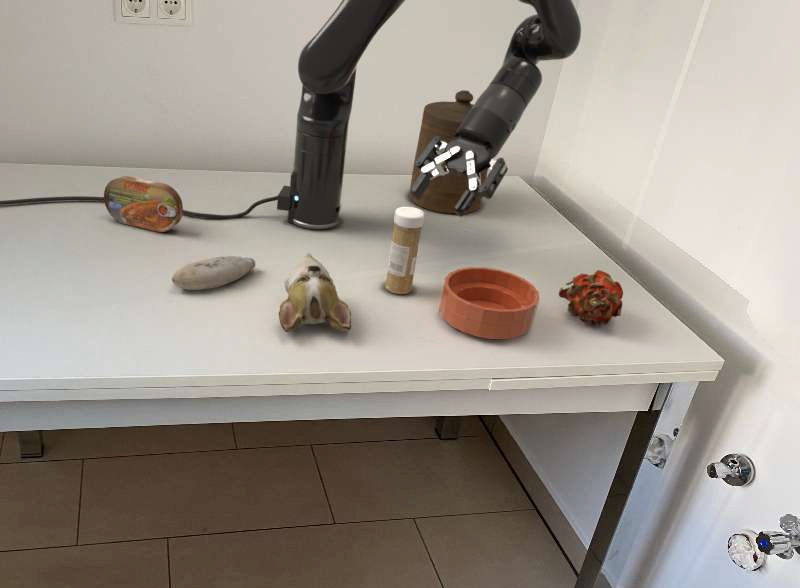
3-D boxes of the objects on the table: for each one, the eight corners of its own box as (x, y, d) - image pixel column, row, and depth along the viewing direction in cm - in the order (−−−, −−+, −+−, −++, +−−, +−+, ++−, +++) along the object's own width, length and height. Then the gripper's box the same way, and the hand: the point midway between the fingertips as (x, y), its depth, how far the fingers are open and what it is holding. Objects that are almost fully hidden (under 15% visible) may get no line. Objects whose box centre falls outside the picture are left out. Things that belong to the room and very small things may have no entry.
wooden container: (490, 199, 166) (514, 91, 153) (464, 220, 155) (486, 106, 143) (426, 182, 172) (444, 77, 159) (396, 201, 161) (412, 90, 149)
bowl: (436, 335, 117) (442, 302, 114) (440, 292, 129) (446, 261, 126) (533, 350, 116) (542, 317, 113) (528, 305, 127) (536, 274, 124)
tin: (104, 219, 144) (101, 174, 139) (113, 213, 146) (111, 169, 141) (177, 237, 140) (176, 191, 135) (185, 230, 142) (185, 185, 137)
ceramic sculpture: (343, 244, 120) (359, 296, 109) (338, 292, 126) (353, 347, 114) (274, 243, 119) (283, 296, 107) (271, 292, 125) (279, 347, 113)
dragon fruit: (593, 348, 120) (566, 319, 131) (645, 319, 119) (613, 292, 129) (570, 304, 117) (544, 278, 128) (624, 274, 115) (593, 250, 126)
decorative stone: (264, 276, 129) (265, 257, 127) (185, 301, 120) (184, 281, 119) (241, 262, 133) (242, 244, 131) (163, 285, 124) (162, 266, 122)
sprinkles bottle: (417, 291, 128) (431, 214, 121) (395, 297, 126) (408, 219, 119) (399, 280, 132) (411, 203, 124) (378, 285, 129) (389, 208, 122)
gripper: (448, 95, 127) (392, 178, 126) (524, 118, 119) (465, 207, 118) (461, 123, 133) (408, 203, 133) (534, 146, 125) (478, 231, 124)
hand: (435, 204), depth 125 cm, fingers open, 8 cm apart
